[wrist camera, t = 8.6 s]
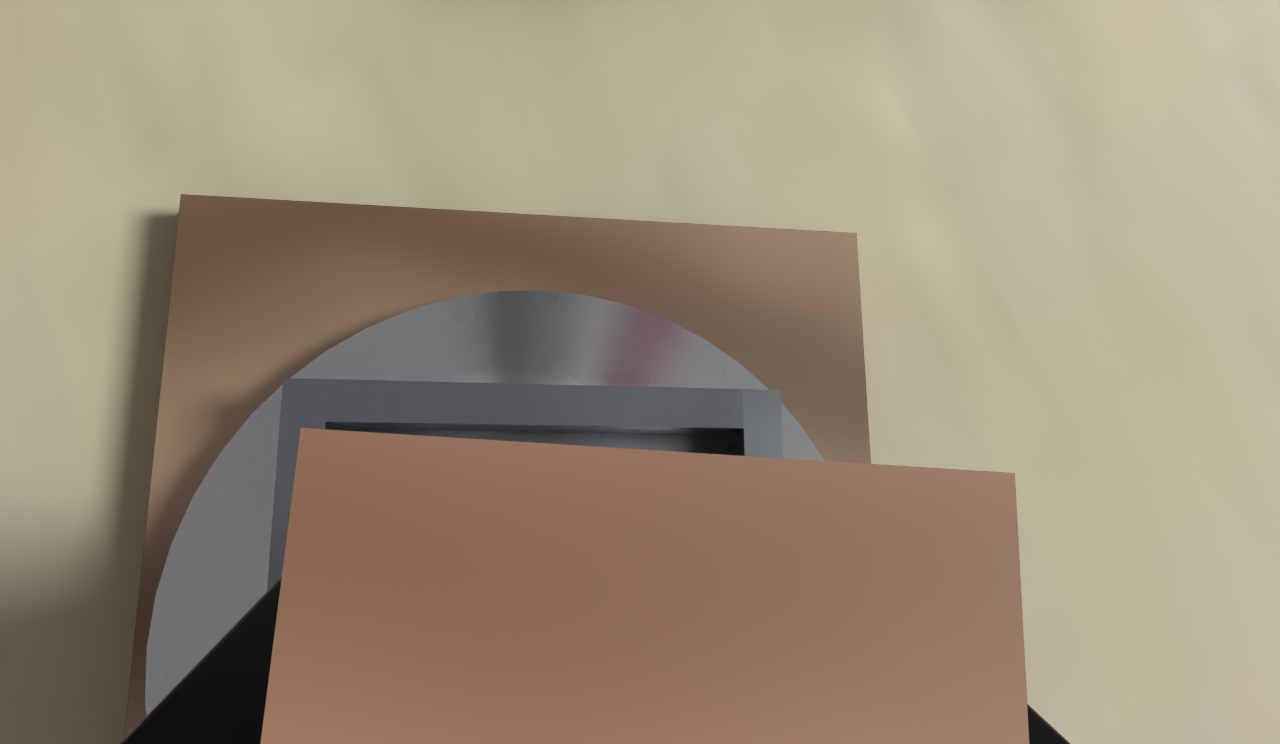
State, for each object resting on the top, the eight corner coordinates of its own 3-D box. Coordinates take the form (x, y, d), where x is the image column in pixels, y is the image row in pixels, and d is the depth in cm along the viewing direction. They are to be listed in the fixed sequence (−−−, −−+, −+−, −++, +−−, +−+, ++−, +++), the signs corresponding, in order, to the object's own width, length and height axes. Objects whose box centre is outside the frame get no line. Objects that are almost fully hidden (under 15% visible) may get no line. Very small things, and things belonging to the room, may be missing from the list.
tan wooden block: (674, 803, 14) (1059, 1298, 5) (395, 803, 14) (175, 1389, 4) (682, 527, 15) (1016, 473, 6) (422, 515, 15) (300, 427, 5)
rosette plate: (879, 986, 17) (923, 1034, 16) (121, 1064, 15) (73, 1131, 13) (841, 313, 20) (874, 290, 18) (197, 287, 18) (166, 258, 16)
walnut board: (887, 1069, 18) (910, 1098, 17) (100, 1163, 15) (75, 1203, 14) (839, 247, 22) (856, 232, 21) (196, 212, 19) (181, 194, 18)
